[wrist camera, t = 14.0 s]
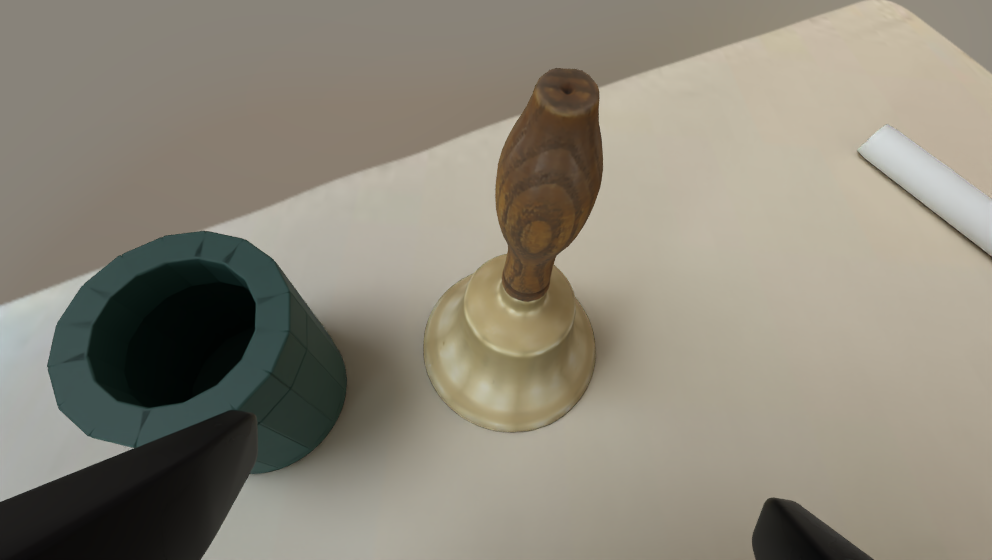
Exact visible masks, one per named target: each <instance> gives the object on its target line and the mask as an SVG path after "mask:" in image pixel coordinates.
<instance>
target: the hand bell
mask: <svg viewBox="0 0 992 560" xmlns="http://www.w3.org/2000/svg"><path fill="white" fill-rule="evenodd" d="M602 172H603V152H602V139H601V133H600V126H599V89H598V86H597V84H596V83H595V82H594V80H593V79H592V78H591V77H590V76H589V75H588V74H586V73H585V72H583V71H581V70H577V69H561V68H555V69H552V70H549V71H548V72H547V73H545V74H544V75H543V76H541V77H540V78H539V80H538V82H537V84H536V85H535V88H534V91H533V94H532V96H531V98H530V100H529V102H528V104H527V107H526V108H525V109H524V111H523V113H522V114H521V116H520V117H519V119H518V120H517V122H516V123H515V125H514V126H513V128H512V130H511V132H510V134H509V136H508V138H507V140H506V142H505V145H504V147H503V149H502V152H501V156H500V159H499V163H498V170H497V178H496V194H495V198H496V211H497V216H498V221H499V225H500V228H501V231H502V233H503V236H504V238H505V240H506V242H507V244H508V253H507V254H504V255H500V256H497V257H495V258H493V259H491V260H489V261H487V262H486V263H484V264H483V265H482V266H481V267H480V268H479V269H478V270H477V271H476V272H475V273H474V274H471V275H469V276H467V277H465V278H463V279H462V280H460V281H459V282H457V283H456V284H454V285H453V286H452V287H451V288H450V289H448V290H447V291H446V292H445V293H444V294H443V296H442V297H441V298H440V299H439V301H438V302H437V304H436V305H435V307H434V309H433V310H432V312H431V314H430V317H429V319H428V322H427V325H426V329H425V334H424V344H423V351H424V361H425V365H426V369H427V373H428V376H429V378H430V380H431V382H432V384H433V386H434V388H435V390H436V391H437V393H438V394H439V396H440V397H441V398H442V400H443V401H444V402H445V403H446V404H447V405H448V406H449V407H450V408H451V409H452V410H453V411H455V412H456V413H457V414H458V415H460V416H461V417H462V418H464V419H466V420H467V421H469V422H471V423H473V424H475V425H478V426H480V427H483V428H486V429H490V430H494V431H501V432H521V431H530V430H534V429H537V428H540V427H543V426H546V425H549V424H551V423H552V422H554V421H556V420H557V419H559V418H560V417H562V416H563V415H564V414H566V413H567V412H568V411H569V410H570V409H571V408H572V407H573V406H574V405H575V404H576V403H577V402H578V401H579V399H580V398H581V397H582V395H583V394H584V392H585V390H586V389H587V386H588V384H589V382H590V380H591V377H592V374H593V369H594V364H595V339H594V334H593V330H592V327H591V324H590V321H589V319H588V317H587V315H586V313H585V311H584V310H583V308H582V306H581V305H580V303H579V302H578V301H577V300H576V298H575V297H574V292H573V290H572V287H571V285H570V283H569V281H568V280H567V278H566V277H565V276H564V274H563V273H562V272H561V271H560V270H559V269H558V268H557V267H556V266H555V265H554V261H555V258H556V256H557V255H558V254H559V253H560V252H561V251H563V250H564V249H565V248H566V247H568V246H569V245H570V244H571V243H572V241H573V240H574V239H575V238H576V237H577V235H578V234H579V232H580V231H581V229H582V228H583V226H584V224H585V222H586V221H587V219H588V217H589V215H590V213H591V211H592V208H593V206H594V204H595V201H596V198H597V195H598V192H599V189H600V185H601V180H602Z"/></svg>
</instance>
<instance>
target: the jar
mask: <svg viewBox="0 0 992 560" xmlns="http://www.w3.org/2000/svg"><path fill="white" fill-rule="evenodd" d="M57 324H58V325H56V329H55V333H54V337H53V342H52V346H51V351H50V355H49V360H48V364H47V367H48V372H49V375H50V379H51V383H52V387H53V390H54V394H55V398H56V402H57V405H58V406H59V407H58V408H59V410H60V411H62V412H63V413H64V414H65V415H66V416H67V417H68V418H69V419H70V420H71V421H72V422H73V423H74V424H75V425H77V426H78V427H79V428H80V429H81V430H82V431H83V432H84V433H85V434H86V435H87V436H90V437H92V438H95V439H99V440H103V441H107V442H112V443H116V444H120V445H124V446H128V447H132V448H137V447H139V446H142V445H144V444H147V443H149V442H152V441H154V440H157V439H159V438H162V437H164V436H167V435H169V434H172V433H174V432H177V431H179V430H182V429H184V428H187V427H189V426H192V425H194V424H197V423H199V422H202V421H204V420H206V419H209V418H211V417H214V416H216V415H219V414H221V413H224V412H226V411H229V410H240V411H246V412H252V413H254V414H255V415H256V417H257V427H258V455H257V459H256V462H255V465H254V467H253V469H252V471H251V472H250V474H258V473H266V472H270V471H274V470H278V469H281V468H283V467H286V466H289V465H290V464H292V463H294V462H296V461H298V460H300V459H301V458H303V457H304V456H306V455H307V454H309V453H310V452H311V451H312V450H313V449H314V448H316V447H317V446H318V445H319V444H320V443H321V442H322V440H323V439H324V438H325V437H326V436H327V435H328V433H329V432H330V430H331V429H332V428H333V426H334V424H335V422H336V421H337V419H338V417H339V414H340V412H341V410H342V407H343V403H344V400H345V394H346V385H347V377H346V369H345V365H344V362H343V359H342V357H341V354H340V352H339V350H338V349H337V347H336V346H335V344H334V342H333V340H332V338H331V337H330V335H329V334H328V333H327V331H326V330H325V328H324V327H323V326H322V324H321V323H320V322H319V320H318V319H317V318H316V316H315V315H314V313H313V312H312V311H311V309H310V308H309V307H308V305H307V304H306V303H305V301H304V300H303V299H302V297H301V296H300V294H299V293H298V292H297V290H296V289H295V288H294V286H293V285H292V284H291V282H290V281H289V279H288V278H287V277H286V275H285V274H284V273H283V271H282V270H281V269H280V267H279V266H278V265H277V263H276V262H275V261H274V260H273V259H272V258H271V257H270V256H268V255H267V254H265V253H264V252H262V251H261V250H260V249H258V248H257V247H255V246H254V245H253V244H251V243H250V242H248V241H247V240H244V239H242V238H237V237H232V236H228V235H223V234H218V233H214V232H209V231H207V232H206V231H199V232H191V233H184V234H176V235H168V236H164V237H162V238H158V239H156V240H154V241H152V242H149V243H147V244H145V245H142V246H140V247H138V248H135V249H133V250H131V251H128V252H126V253H124V254H122V256H121V255H120V256H118V257H117V258H115V259H114V260H113V261H112V262H110V263H109V264H108V265H107V266H105V267H104V268H103V269H102V270H101V271H99V272H98V273H97V274H96V275H94V276H93V277H92V278H91V279H90V280H88V281H87V282H86V283H85V284H84V285H83V286H82V287H81V288H80V290H79V291H78V293H77V294H76V296H75V297H74V299H73V300H72V302H71V303H70V305H69V306H68V308H67V309H66V311H65V312H64V314H63V315H62V317H61V318H60V320H59V321H58V323H57Z"/></svg>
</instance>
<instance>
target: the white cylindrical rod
mask: <svg viewBox="0 0 992 560" xmlns="http://www.w3.org/2000/svg"><path fill="white" fill-rule="evenodd" d="M857 152H859V153H860V154H861V155H862V156H863V157H864V158H865V159H866V160H868V161H869V162H870V163H872V164H873V165H874V166H875V167H877V168H878V169H879V170H881V171H882V172H883V173H885V174H886V175H887V176H888V177H890V178H891V179H892V180H894V181H895V182H896V183H897V184H899V185H900V186H901V187H903V188H904V189H905V190H906V191H908V192H909V193H910V194H912V195H913V196H914V197H916V198H917V199H918V200H919V201H921V202H922V203H923V204H925V205H926V206H927V207H928V208H930V209H931V210H932V211H934V212H935V213H936V214H937V215H939V216H940V217H941V218H943V219H944V220H945V221H947V222H948V223H949V224H950V225H952V226H953V227H954V228H956V229H957V230H958V231H959V232H961V233H962V234H963V235H965V236H966V237H967V238H968V239H970V240H971V241H972V242H974V243H975V244H976V245H978V246H979V247H980V248H981V249H983V250H984V251H985V252H987V253H988V254H989V255H990V256H992V199H991V198H990V197H988V196H987V195H986V194H984V193H983V192H982V191H980V190H979V189H978V188H976V187H975V186H973V185H972V184H971V183H969V182H968V181H967V180H965V179H964V178H962V177H961V176H960V175H958V174H957V173H956V172H954V170H952V169H951V168H949V167H948V166H947V165H945V164H943V163H942V162H941V161H939V160H938V159H937V158H935V157H934V156H932V155H931V154H930V153H928V152H927V151H926V150H924V149H923V148H921V147H920V146H919V145H917V144H916V143H915V142H913V141H912V140H911V139H909V138H908V137H906V136H905V135H904V134H902V133H901V132H900V131H898V130H897V129H895V128H893V127H892V126H890V125H889V124H886V125H884V126H883V127H882V128H880V129H879V130H878V131H877V132H876V133H874V134H873V135H872V136H871V137H870V138H869V139H868V141H867V142H866V143H863V144H862V145H861V146H860V147H859V148H858V150H857Z"/></svg>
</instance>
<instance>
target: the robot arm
mask: <svg viewBox="0 0 992 560" xmlns="http://www.w3.org/2000/svg"><path fill="white" fill-rule="evenodd" d="M257 455H258V427H257V417H256V415H255V414H254V413H252V412H246V411H240V410H229V411H226V412H224V413H221V414H219V415H216V416H214V417H211V418H209V419H206V420H204V421H202V422H199V423H197V424H194V425H192V426H189V427H187V428H184V429H182V430H179V431H177V432H174V433H172V434H169V435H167V436H164V437H162V438H159V439H157V440H154V441H152V442H149V443H147V444H144V445H142V446H139V447H137V448H134V449H132V450H129V451H127V452H124V453H122V454H119V455H117V456H114V457H112V458H109V459H107V460H104V461H102V462H99V463H97V464H94V465H92V466H89V467H87V468H84V469H82V470H79V471H77V472H74V473H72V474H69V475H67V476H64V477H62V478H59V479H57V480H54V481H52V482H49V483H47V484H44V485H42V486H39V487H37V488H34V489H32V490H29V491H27V492H24V493H22V494H19V495H17V496H14V497H12V498H9V499H7V500H4V501H2V502H0V560H201V558H202V557H203V555H204V554H205V552H206V551H207V549H208V548H209V546H210V544H211V543H212V541H213V539H214V537H215V536H216V534H217V532H218V530H219V529H220V527H221V525H222V523H223V521H224V520H225V518H226V516H227V514H228V512H229V510H230V509H231V507H232V505H233V503H234V501H235V500H236V498H237V496H238V494H239V492H240V491H241V489H242V487H243V485H244V483H245V481H246V480H247V478H248V476H249V474H250V472H251V471H252V469H253V467H254V465H255V462H256V459H257ZM752 547H753V552H754V555H755V559H756V560H874V559H872V558H871V557H870V556H868V555H867V554H866V553H864V552H863V551H861V550H860V549H859V548H857V547H856V546H855V545H853V544H852V543H851V542H849V541H848V540H847V539H845V538H844V537H843V536H841V535H840V534H838V533H837V532H836V531H834V530H833V529H832V528H830V527H829V526H828V525H826V524H825V523H824V522H822V521H821V520H820V519H818V518H817V517H816V516H814V515H813V514H811V513H810V512H809V511H807V510H806V509H805V508H803V507H802V506H801V505H799V504H798V503H796V502H794V501H791V500H785V499H779V498H769V499H767V501H766V502H765V503H764V506H763V508H762V511H761V513H760V516H759V519H758V521H757V524H756V526H755V529H754V532H753V536H752Z"/></svg>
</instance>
